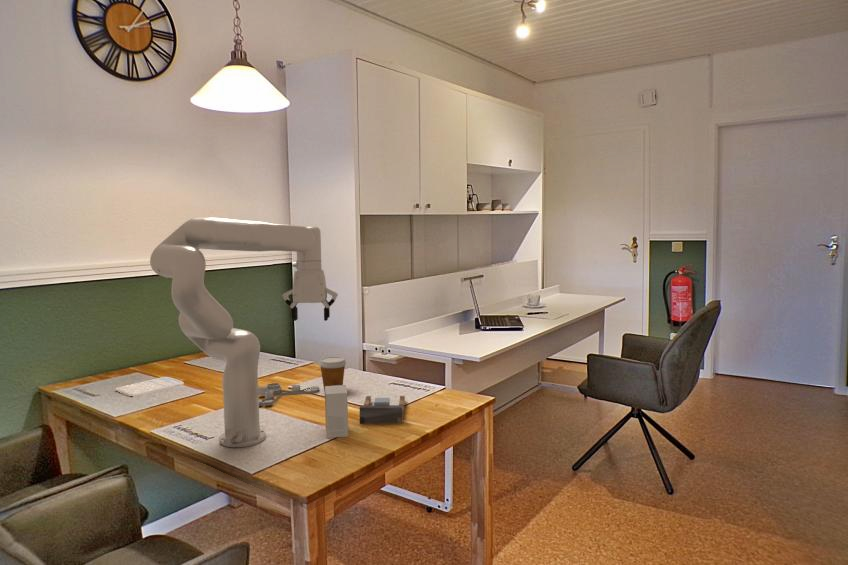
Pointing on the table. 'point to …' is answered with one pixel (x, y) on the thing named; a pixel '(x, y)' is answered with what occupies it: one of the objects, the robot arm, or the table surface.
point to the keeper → (382, 401)
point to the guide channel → (381, 412)
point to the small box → (336, 411)
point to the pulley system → (276, 389)
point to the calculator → (149, 386)
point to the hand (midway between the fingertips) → (310, 320)
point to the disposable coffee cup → (332, 371)
